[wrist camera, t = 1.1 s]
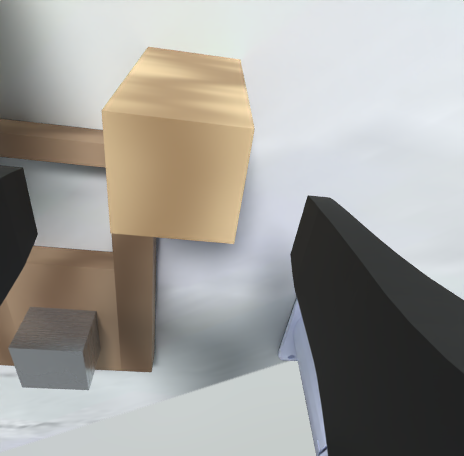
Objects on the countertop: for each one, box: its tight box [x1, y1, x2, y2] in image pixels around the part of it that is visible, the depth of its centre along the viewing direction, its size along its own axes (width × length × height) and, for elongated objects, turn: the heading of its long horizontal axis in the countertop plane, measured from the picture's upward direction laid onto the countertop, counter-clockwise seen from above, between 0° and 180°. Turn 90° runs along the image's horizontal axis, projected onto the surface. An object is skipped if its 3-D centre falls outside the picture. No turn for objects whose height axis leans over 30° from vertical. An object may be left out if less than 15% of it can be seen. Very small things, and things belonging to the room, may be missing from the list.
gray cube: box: [8, 307, 101, 390], centre depth 24 cm, size 4×4×4 cm
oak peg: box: [102, 47, 254, 244], centre depth 14 cm, size 4×4×8 cm
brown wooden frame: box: [0, 119, 156, 372], centre depth 22 cm, size 11×18×2 cm, turn 172°
